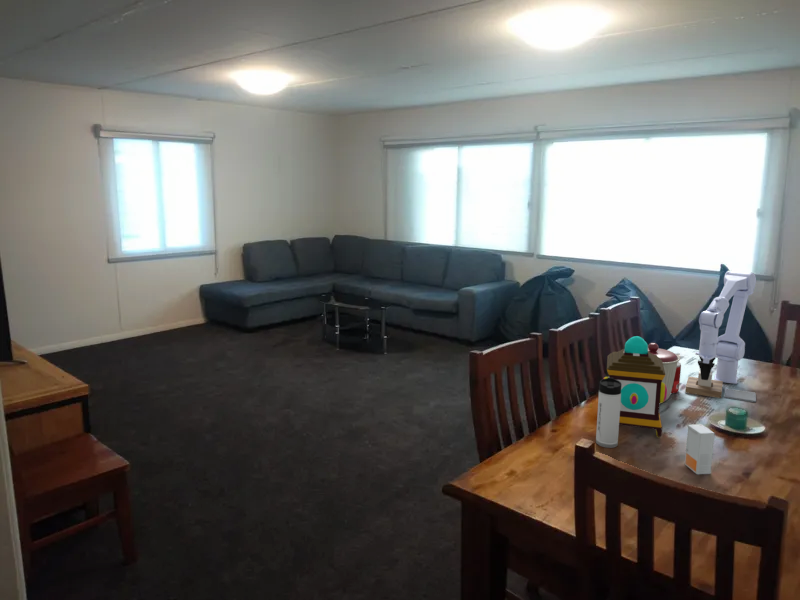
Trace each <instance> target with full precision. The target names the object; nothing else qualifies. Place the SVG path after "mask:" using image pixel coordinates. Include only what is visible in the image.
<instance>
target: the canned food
mask: <svg viewBox="0 0 800 600" xmlns="http://www.w3.org/2000/svg"><path fill="white" fill-rule="evenodd" d="M681 370H682V363H681V362H680V361H678V362H677V368H676V372H675V377H674V382H673V386H672V390H671V394H677V393H679V391H680V382H681V381H680V380H681V373H682V372H681Z"/></svg>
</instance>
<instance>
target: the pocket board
mask: <svg viewBox="0 0 800 600" xmlns="http://www.w3.org/2000/svg"><path fill="white" fill-rule="evenodd" d="M723 383H724V382H723V381H718V380H714V379H712V382H711V387H707V386H700V385H698V377H696V376H695V377H694V376H688V377H687V381H686V384H685V389H684V390H685V392H684V393H685V394H692V395H698V396H704V397H705V396H706V397H711V398H712V397H713V398H717V399H722V395H723V393H722V392H723V385H724V384H723Z"/></svg>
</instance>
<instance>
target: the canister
mask: <svg viewBox="0 0 800 600" xmlns="http://www.w3.org/2000/svg"><path fill="white" fill-rule="evenodd" d="M647 345H648V351H649V352H650V353H651V354H652V355H657V356H658V357H659V358H660V359H661V360H662V362H663V366H664V370H665V374H666V375H665V377H664V379H663V380H662V382H663V383H664V384H665V385H666V388H667V396H666V399H665V401H664V402H666V401H667V400H669V398H670V396H671V394H672V393H671V390H672V386H673V382H674V377H675V372H676V368H677V362H680V360H681V357H680V356H679V355H677V354H676V353H674V351H670V350H668V349H664V348H659V345H658V344H657V343H656V342H650V343H649V344H647ZM664 402H663V403H664Z"/></svg>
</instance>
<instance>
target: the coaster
mask: <svg viewBox="0 0 800 600" xmlns="http://www.w3.org/2000/svg"><path fill="white" fill-rule="evenodd" d="M724 399H731V400H737V401H744V402H749V403H750V402H752V403H756V402H757V394H756V392H754V391H749V390H748V391H746V390H738V389H733V388H724Z"/></svg>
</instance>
